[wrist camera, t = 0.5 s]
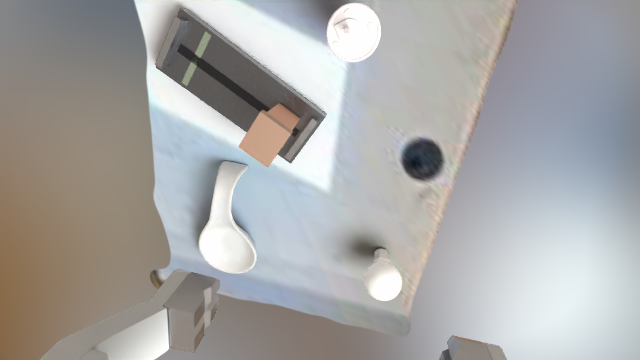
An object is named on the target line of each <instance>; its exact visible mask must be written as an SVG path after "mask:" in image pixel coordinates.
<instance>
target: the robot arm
mask: <svg viewBox="0 0 640 360" xmlns="http://www.w3.org/2000/svg"><path fill="white" fill-rule="evenodd" d="M219 287H220V280H218V279H216V278H212V277H208V276H205V275H201V274H197V273H194V272H189V271H185V270H181V269H177V270H175V271H174V272H173V273H172V274H171V275H170V276H169V277H168V279H167V280H166V281H165V282H164V283H163V284H162V286H161V287H160V288H159V289H158V290H157V291H156V293H155V294H154V295H153V296H152V297H151V299H150V300H149V301H148V302H147V303H146V302H141V303H139V304H137V305H135V306H132V307H130V308H128V309H126V310H124V311H122V312H119V313H117V314H115V315H113V316H111V317H109V318H107V319H104V320H102V321H100V322H98V323H96V324H93V325H91V326H89V327H87V328H85V329H83V330H80V331H78V332H76V333H74V334H72V335H69V336H67V337H65V338H63V339H61V340H60V341H58V342H57V344H56V345H54V346H53V347H52V348H51V349H50V350H49V351H48V352H47V353H46V354H45V355H44V356H43V357H42V358H41V359H40V360H155V359H156V358H157V357H159V356H160V355H161V354H163V353H164V352H166V351H167V350H168V349H169V348H174V349H178V350H183V351H188V352H192V353H194V352H195V351H196V349H197V347H198V346H199V344H200V342H201V340H202V338H203V336H204V328H205V327H207V326H209V325H210V324H211V322H212V320H213V319H214V317H215V314H216V311H217V308H218V303H219V296H218V295H217V293H216V292H217V291H218V289H219ZM447 344H448V348H449V349H447V350H445V351H443V352H442V354H441V356H440V359H439V360H507V359H506V357H505V355H504V353H503V350H502V349H501V348H500V347H499V346H497V345H493V344H488V343H482V342H480V341H476V340H471V339H467V338H462V337H458V336H454V335H453V336H451V337H450V338H449V340H448V342H447Z"/></svg>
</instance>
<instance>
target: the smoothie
mask: <svg viewBox="0 0 640 360" xmlns="http://www.w3.org/2000/svg"><path fill="white" fill-rule="evenodd" d="M326 35H327V42H328V45H329V47H330V49H331V51H332V52H333V53H334V54H335V55H336V56H337V57H338V58H340V59H342V60H344V61H347V62H358V61H361V60H364V59H365V58H367V57H369V56H370V55H371V54H372V53H373V52H374V51H375V49H376V47H377V45H378V43H379V40H380V36H381V27H380V22H379V19H378V17H377V15H376V14H375V12H374V11H373V10H372V9H371V8H370V7H368V6H366V5H365V4H361V3H348V4H345V5H343V6H341V7H340V8H338V9H337V10H336V11H335V12H334V13H333V15H332V16H331V18H330V20H329V22H328V25H327V33H326Z"/></svg>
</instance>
